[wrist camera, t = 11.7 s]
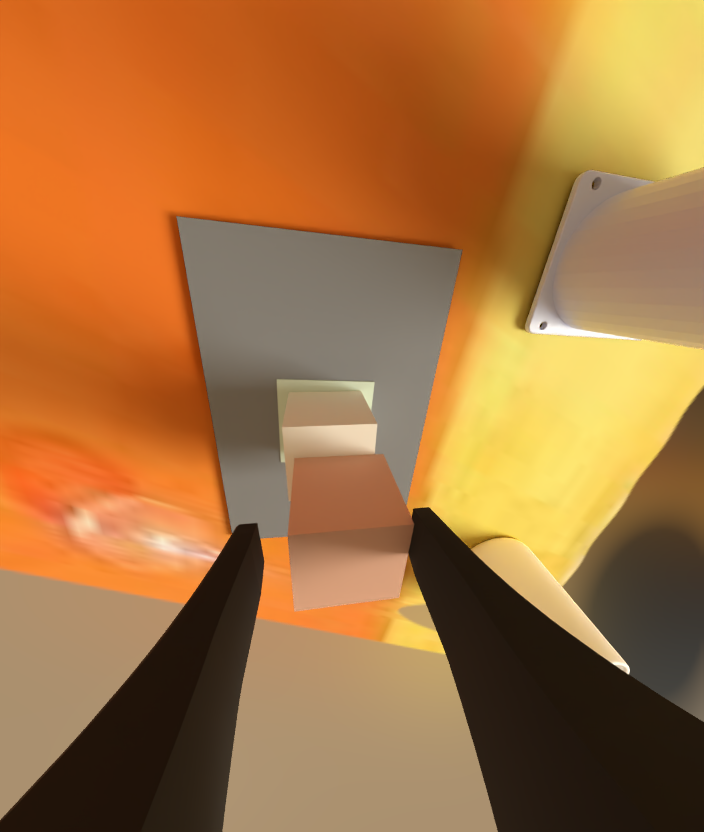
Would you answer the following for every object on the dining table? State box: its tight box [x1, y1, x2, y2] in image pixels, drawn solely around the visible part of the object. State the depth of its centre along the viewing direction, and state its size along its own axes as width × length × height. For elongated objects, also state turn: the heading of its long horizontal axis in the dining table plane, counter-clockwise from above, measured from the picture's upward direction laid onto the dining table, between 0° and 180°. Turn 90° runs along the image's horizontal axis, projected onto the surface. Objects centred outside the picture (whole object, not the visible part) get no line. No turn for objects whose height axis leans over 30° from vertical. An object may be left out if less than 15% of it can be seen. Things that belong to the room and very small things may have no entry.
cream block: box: [282, 391, 377, 501], centre depth 15 cm, size 4×4×4 cm
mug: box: [471, 537, 630, 674], centre depth 23 cm, size 12×8×10 cm
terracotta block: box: [288, 454, 414, 611], centre depth 12 cm, size 4×4×4 cm
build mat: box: [176, 216, 462, 538], centre depth 18 cm, size 14×21×1 cm, turn 175°
